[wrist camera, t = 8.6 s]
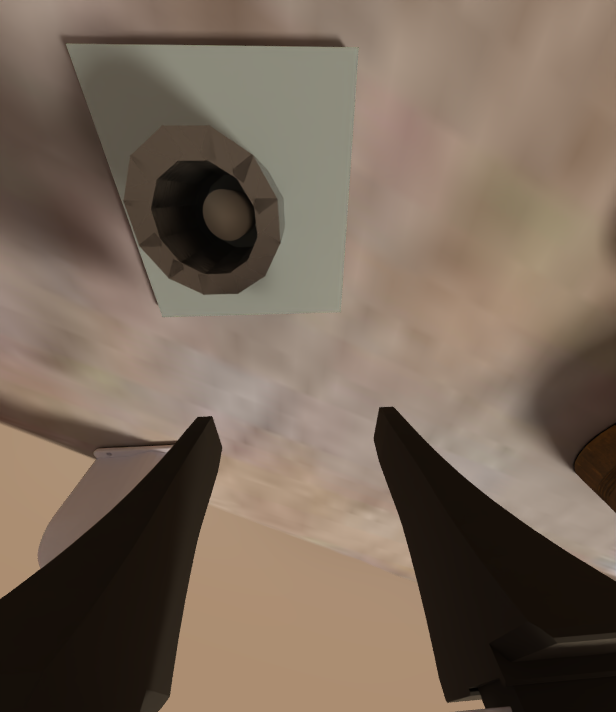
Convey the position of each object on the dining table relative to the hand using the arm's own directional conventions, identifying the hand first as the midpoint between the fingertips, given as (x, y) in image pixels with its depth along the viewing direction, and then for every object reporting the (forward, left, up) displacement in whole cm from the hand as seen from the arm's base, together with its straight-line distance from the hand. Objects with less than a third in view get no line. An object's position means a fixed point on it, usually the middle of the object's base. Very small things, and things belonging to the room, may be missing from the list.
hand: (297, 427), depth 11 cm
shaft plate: (-3, +8, -9) cm, 12 cm away
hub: (-3, +8, -8) cm, 12 cm away
